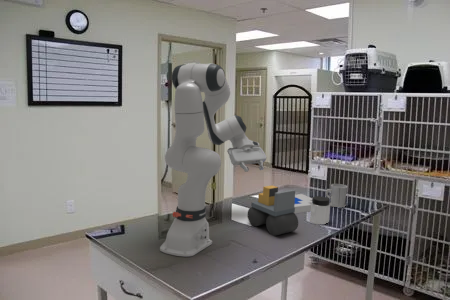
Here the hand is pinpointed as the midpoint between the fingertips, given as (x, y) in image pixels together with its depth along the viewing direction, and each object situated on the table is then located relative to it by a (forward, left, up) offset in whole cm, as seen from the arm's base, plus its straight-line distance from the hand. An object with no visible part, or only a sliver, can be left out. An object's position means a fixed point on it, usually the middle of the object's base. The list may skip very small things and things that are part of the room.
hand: (254, 170), depth 170 cm
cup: (+42, -38, -25) cm, 62 cm away
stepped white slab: (+32, -12, -25) cm, 43 cm away
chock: (-6, -8, -14) cm, 17 cm away
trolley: (-8, -11, -25) cm, 28 cm away
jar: (+10, -31, -25) cm, 41 cm away
